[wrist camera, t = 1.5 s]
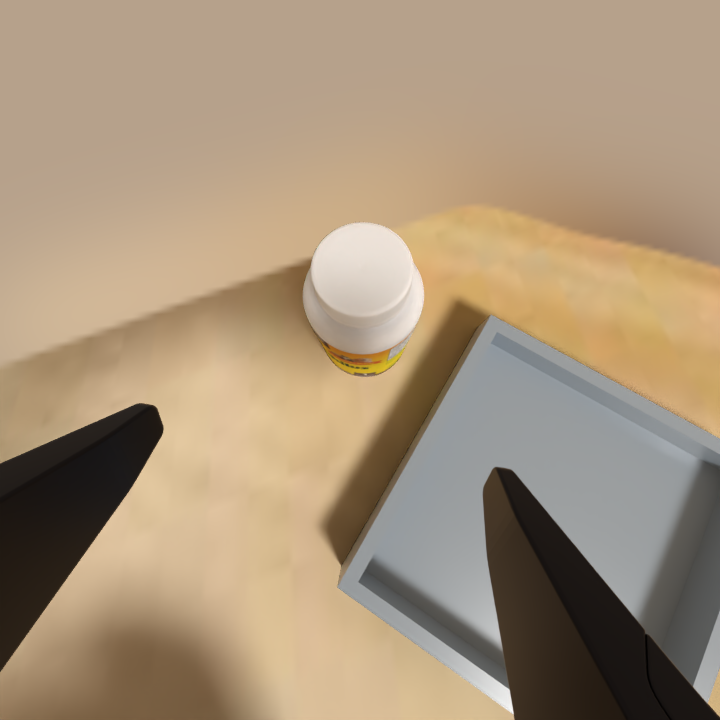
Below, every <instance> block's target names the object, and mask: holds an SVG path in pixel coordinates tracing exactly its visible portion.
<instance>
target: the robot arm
mask: <svg viewBox="0 0 720 720" xmlns="http://www.w3.org/2000/svg"><path fill="white" fill-rule="evenodd" d="M163 430H164V429H163V424H162V421H161V418H160V415H159V412H158V409H157V408H156V407H155V406H154V405H149V404H143V403H139V404H135V405H133V406H131V407H129V408H126V409H124V410H122V411H119V412H117V413H115V414H113V415H110V416H108V417H106V418H103V419H101V420H99V421H97V422H94V423H92V424H90V425H87V426H85V427H83V428H81V429H78V430H76V431H74V432H71V433H69V434H67V435H65V436H62V437H60V438H58V439H55V440H53V441H51V442H49V443H46V444H44V445H42V446H39V447H37V448H35V449H33V450H30V451H28V452H26V453H23V454H21V455H19V456H17V457H14V458H12V459H10V460H7V461H5V462H3V463H0V672H1V670H2V669H3V667H4V666H5V665H6V663H7V662H8V660H9V659H10V658H11V656H12V655H13V653H14V652H15V651H16V649H17V648H18V646H19V645H20V644H21V642H22V641H23V639H24V638H25V637H26V635H27V634H28V632H29V631H30V630H31V628H32V627H33V625H34V624H35V622H36V621H37V620H38V618H39V617H40V615H41V614H42V613H43V611H44V610H45V608H46V607H47V606H48V604H49V603H50V601H51V600H52V599H53V597H54V596H55V594H56V593H57V592H58V590H59V589H60V587H61V586H62V585H63V583H64V582H65V580H66V579H67V578H68V576H69V575H70V573H71V572H72V571H73V569H74V568H75V566H76V565H77V564H78V562H79V561H80V559H81V558H82V557H83V555H84V554H85V552H86V551H87V550H88V548H89V547H90V545H91V544H92V543H93V541H94V540H95V538H96V537H97V536H98V534H99V533H100V531H101V530H102V528H103V527H104V526H105V524H106V523H107V521H108V520H109V519H110V517H111V516H112V514H113V513H114V512H115V510H116V509H117V507H118V506H119V505H120V503H121V502H122V500H123V499H124V498H125V496H126V495H127V493H128V492H129V490H130V489H131V487H132V486H133V484H134V483H135V481H136V479H137V478H138V476H139V474H140V473H141V471H142V469H143V467H144V466H145V464H146V462H147V460H148V459H149V457H150V455H151V454H152V452H153V450H154V448H155V447H156V445H157V443H158V441H159V440H160V438H161V436H162V434H163ZM483 509H484V524H485V540H486V553H487V561H488V568H489V574H490V579H491V585H492V591H493V597H494V603H495V608H496V614H497V620H498V626H499V632H500V637H501V643H502V649H503V655H504V661H505V666H506V672H507V678H508V684H509V690H510V695H511V701H512V707H513V713H514V719H515V720H720V717H719V716H718V715H717V714H716V712H715V711H714V710H713V709H712V708H711V707H710V706H709V705H708V703H707V702H706V701H705V700H704V699H703V698H702V697H701V695H700V694H699V693H698V692H697V691H696V690H695V688H694V687H693V686H692V685H691V684H690V683H689V681H688V680H687V679H686V678H685V677H684V676H683V674H682V673H681V672H680V671H679V670H678V668H677V667H676V666H675V665H674V664H673V663H672V661H671V660H670V659H669V658H668V657H667V655H666V654H665V653H664V652H663V651H662V649H661V648H660V647H659V646H658V645H657V643H656V642H655V641H654V640H653V639H652V637H651V636H650V635H649V634H645V629H644V628H643V627H642V626H641V624H640V623H639V622H638V621H637V619H636V618H635V617H634V616H633V615H632V613H631V612H630V611H629V610H628V609H627V607H626V606H625V605H624V604H623V603H622V601H621V600H620V599H619V598H618V597H617V595H616V594H615V593H614V592H613V591H612V589H611V588H610V587H609V586H608V584H607V583H606V582H605V581H604V580H603V578H602V577H601V576H600V575H599V574H598V572H597V571H596V570H595V569H594V568H593V566H592V565H591V564H590V563H589V562H588V560H587V559H586V558H585V557H584V556H583V554H582V553H581V552H580V551H579V549H578V548H577V547H576V546H575V545H574V543H573V542H572V541H571V540H570V539H569V537H568V536H567V535H566V534H565V533H564V531H563V530H562V529H561V528H560V527H559V525H558V524H557V523H556V522H555V521H554V519H553V518H552V517H551V516H550V514H549V513H548V512H547V511H546V510H545V508H544V507H543V506H542V505H541V504H540V502H539V501H538V500H537V499H536V498H535V496H534V495H533V494H532V493H531V492H530V490H529V489H528V488H527V487H526V486H525V484H524V483H523V482H522V481H521V479H520V478H519V477H518V476H517V475H516V473H515V472H514V471H512V470H511V469H508V468H502V467H494V468H493V469H492V471H491V473H490V475H489V477H488V479H487V481H486V482H485V484H484V487H483Z"/></svg>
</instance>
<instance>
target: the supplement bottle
mask: <svg viewBox="0 0 720 720" xmlns="http://www.w3.org/2000/svg"><path fill="white" fill-rule="evenodd" d="M423 302H424V288H423V282H422V279H421V276H420V273H419V271H418V269H417V267H416V265H415V264H414V263H413V260H412V256H411V253H410V251H409V249H408V247H407V245H406V244H405V242H404V241H403V240H402V239H401V238H400V237H399V236H398V235H397V234H396V233H394V232H393V231H391V230H390V229H388V228H386V227H384V226H382V225H379V224H375V223H367V222H357V223H352V224H347V225H344V226H341V227H339V228H337V229H335V230H333V231H332V232H331V233H329V234H328V235H327V236H326V237H325V238H324V239H323V240H322V241H321V242H320V244H319V245H318V247H317V248H316V250H315V252H314V255H313V258H312V262H311V267H310V269H309V271H308V273H307V275H306V279H305V282H304V287H303V305H304V310H305V313H306V316H307V318H308V321H309V323H310V325H311V327H312V328H313V330H314V332H315V333H316V335H317V337H318V339H319V341H320V342H321V344H322V346H323V348H324V349H325V351H326V353H327V355H328V356H329V358H330V359H331V361H332V362H333V363H334V364H335V365H336V366H337V367H338V368H339V369H341V370H342V371H344V372H346V373H348V374H351V375H354V376H360V377H370V376H375V375H378V374H381V373H383V372H385V371H387V370H388V369H390V368H391V367H392V366H393V365H394V364H395V363H396V362H397V361H398V360H399V358H400V357H401V355H402V353H403V351H404V349H405V347H406V345H407V343H408V341H409V339H410V337H411V334H412V332H413V330H414V328H415V326H416V324H417V322H418V320H419V318H420V315H421V312H422V308H423Z"/></svg>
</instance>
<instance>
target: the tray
mask: <svg viewBox="0 0 720 720" xmlns="http://www.w3.org/2000/svg"><path fill="white" fill-rule="evenodd" d="M494 467H502V468H508V469H511V470H512V471H514V472H515V473H516V475H517V476H518V477H519V478H520V479H521V481H522V482H523V483H524V484H525V486H526V487H527V488H528V489H529V490H530V492H531V493H532V494H533V495H534V496H535V498H536V499H537V500H538V501H539V502H540V504H541V505H542V506H543V507H544V508H545V510H546V511H547V512H548V513H549V514H550V516H551V517H552V518H553V519H554V521H555V522H556V523H557V524H558V525H559V527H560V528H561V529H562V530H563V531H564V533H565V534H566V535H567V536H568V537H569V539H570V540H571V541H572V542H573V543H574V545H575V546H576V547H577V548H578V549H579V551H580V552H581V553H582V554H583V556H584V557H585V558H586V559H587V560H588V562H589V563H590V564H591V565H592V566H593V568H594V569H595V570H596V571H597V572H598V574H599V575H600V576H601V577H602V578H603V580H604V581H605V582H606V583H607V584H608V586H609V587H610V588H611V589H612V591H613V592H614V593H615V594H616V595H617V597H618V598H619V599H620V600H621V601H622V603H623V604H624V605H625V606H626V607H627V609H628V610H629V611H630V612H631V613H632V615H633V616H634V617H635V618H636V619H637V621H638V622H639V623H640V624H641V626H642V627H643V628H644V629H645V634H649V635H650V636H651V637H652V639H653V640H654V641H655V642H656V643H657V645H658V646H659V647H660V648H661V649H662V651H663V652H664V653H665V654H666V655H667V657H668V658H669V659H670V660H671V661H672V663H673V664H674V665H675V666H676V667H677V668H678V670H679V671H680V672H681V673H682V674H683V676H684V677H685V678H686V679H687V680H688V681H689V683H690V684H691V685H692V686H693V687H694V688H695V690H696V691H697V692H698V693H699V694H700V695H701V697H702V698H703V699H704V700H705V701H706V702H707V703H708V701H709V698H710V695H711V692H712V689H713V686H714V683H715V680H716V677H717V674H718V671H719V668H720V439H719V438H717V437H716V436H714V435H712V434H710V433H708V432H706V431H705V430H703V429H701V428H699V427H697V426H695V425H693V424H692V423H690V422H688V421H686V420H684V419H682V418H681V417H679V416H677V415H675V414H673V413H671V412H669V411H668V410H666V409H664V408H662V407H660V406H658V405H657V404H655V403H653V402H651V401H649V400H647V399H646V398H644V397H642V396H640V395H638V394H636V393H634V392H633V391H631V390H629V389H627V388H625V387H623V386H622V385H620V384H618V383H616V382H614V381H612V380H610V379H609V378H607V377H605V376H603V375H601V374H599V373H598V372H596V371H594V370H592V369H590V368H588V367H587V366H585V365H583V364H581V363H579V362H577V361H575V360H574V359H572V358H570V357H568V356H566V355H564V354H563V353H561V352H559V351H557V350H555V349H553V348H552V347H550V346H548V345H546V344H544V343H542V342H540V341H539V340H537V339H535V338H533V337H531V336H529V335H528V334H526V333H524V332H522V331H520V330H518V329H516V328H515V327H513V326H511V325H509V324H507V323H505V322H504V321H502V320H500V319H498V318H496V317H494V316H493V315H490V316H489V317H488V318H487V319H486V320H485V321H484V322H483V323H482V324H481V325H479V326H478V327H477V329H476V331H475V332H474V334H473V336H472V338H471V340H470V341H469V343H468V345H467V347H466V348H465V350H464V352H463V354H462V355H461V357H460V359H459V361H458V362H457V364H456V366H455V368H454V369H453V371H452V373H451V375H450V376H449V378H448V380H447V382H446V383H445V385H444V387H443V389H442V390H441V392H440V394H439V396H438V397H437V399H436V401H435V403H434V405H433V406H432V408H431V410H430V412H429V413H428V415H427V417H426V419H425V420H424V422H423V424H422V426H421V427H420V429H419V431H418V433H417V434H416V436H415V438H414V440H413V441H412V443H411V445H410V447H409V448H408V450H407V452H406V454H405V455H404V457H403V459H402V461H401V462H400V464H399V466H398V468H397V470H396V471H395V473H394V475H393V477H392V478H391V480H390V482H389V484H388V485H387V487H386V489H385V491H384V492H383V494H382V496H381V498H380V499H379V501H378V503H377V505H376V506H375V508H374V510H373V512H372V513H371V515H370V517H369V519H368V520H367V522H366V524H365V526H364V527H363V529H362V531H361V533H360V535H359V536H358V538H357V540H356V542H355V543H354V545H353V547H352V549H351V550H350V552H349V554H348V556H347V557H346V559H345V561H344V563H343V564H342V566H341V570H340V575H339V581H338V586H337V588H339V589H340V590H342V591H343V592H344V593H346V594H347V595H349V596H350V597H351V598H353V599H354V600H356V601H357V602H358V603H360V604H361V605H362V606H364V607H365V608H367V609H368V610H369V611H371V612H372V613H374V614H375V615H376V616H378V617H379V618H380V619H382V620H383V621H385V622H386V623H387V624H389V625H390V626H392V627H393V628H394V629H396V630H397V631H398V632H400V633H401V634H403V635H404V636H405V637H407V638H408V639H410V640H411V641H412V642H414V643H415V644H417V645H418V646H419V647H421V648H422V649H423V650H425V651H426V652H428V653H429V654H430V655H432V656H433V657H435V658H436V659H437V660H439V661H440V662H441V663H443V664H444V665H446V666H447V667H448V668H450V669H451V670H453V671H454V672H455V673H457V674H458V675H460V676H461V677H462V678H464V679H465V680H466V681H468V682H469V683H471V684H472V685H473V686H475V687H476V688H478V689H479V690H480V691H482V692H483V693H484V694H486V695H487V696H489V697H490V698H491V699H493V700H494V701H496V702H497V703H498V704H500V705H501V706H502V707H504V708H505V709H507V710H508V711H509V712H511V713H512V714H514V713H513V707H512V701H511V695H510V690H509V684H508V678H507V672H506V666H505V661H504V655H503V649H502V643H501V637H500V632H499V626H498V620H497V614H496V608H495V603H494V597H493V591H492V585H491V579H490V574H489V568H488V561H487V553H486V540H485V524H484V509H483V487H484V484H485V482H486V481H487V479H488V477H489V475H490V473H491V471H492V469H493V468H494Z"/></svg>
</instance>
